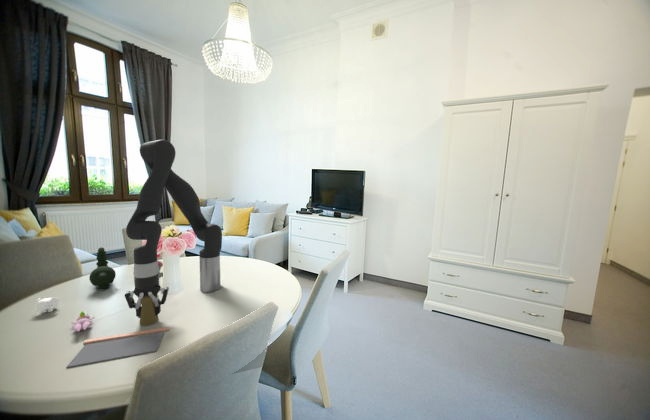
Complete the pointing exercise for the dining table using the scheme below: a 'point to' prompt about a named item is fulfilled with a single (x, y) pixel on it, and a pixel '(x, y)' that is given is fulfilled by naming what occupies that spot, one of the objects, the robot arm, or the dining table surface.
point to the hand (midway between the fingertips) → (148, 315)
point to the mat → (116, 349)
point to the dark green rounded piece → (102, 272)
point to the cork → (147, 311)
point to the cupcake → (159, 265)
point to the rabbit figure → (82, 322)
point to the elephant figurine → (46, 304)
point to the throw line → (125, 335)
